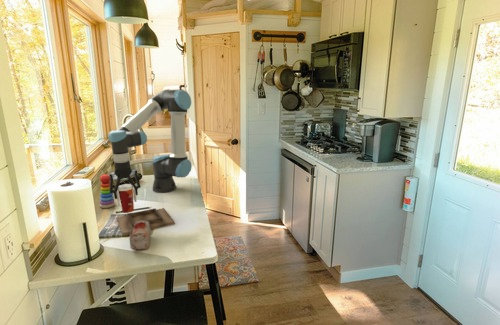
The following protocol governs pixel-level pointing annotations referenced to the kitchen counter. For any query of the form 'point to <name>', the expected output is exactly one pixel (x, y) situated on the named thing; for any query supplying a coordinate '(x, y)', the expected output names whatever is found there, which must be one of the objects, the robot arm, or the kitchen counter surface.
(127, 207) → the paper cup
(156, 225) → the assembly base
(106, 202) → the stacking toy
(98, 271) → the kitchen counter surface
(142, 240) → the food item
